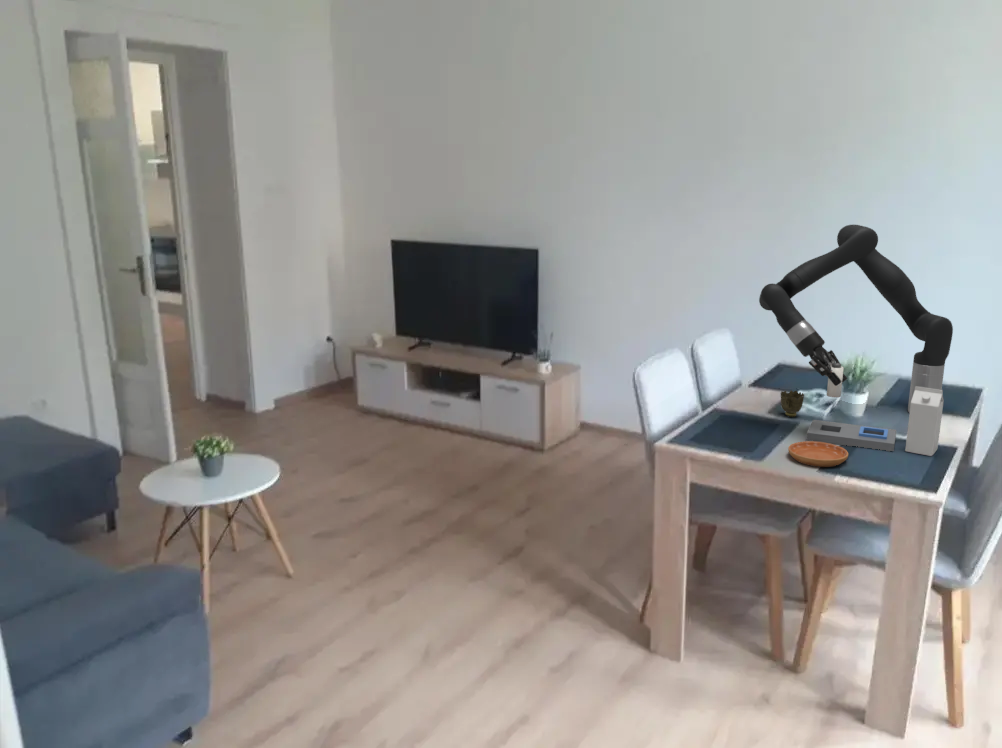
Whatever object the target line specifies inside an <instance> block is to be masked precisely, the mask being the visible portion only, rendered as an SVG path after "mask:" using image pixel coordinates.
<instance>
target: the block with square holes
mask: <svg viewBox="0 0 1002 748" xmlns="http://www.w3.org/2000/svg"><path fill="white" fill-rule="evenodd" d="M896 437H897V429H893V428H891V429H890V428H886V427H885V428H884V427H875V426H868V425H861V424H860V425H859V424H853V423H851V424H850V423H845V422H844V423H843V422H834V421H827V420H818V419H812V421H811V423H810V425H809V428H808V430H807V431H806V437H805V438H806V441H815V442H824V443H830V444H834V445H837V446H846V445H847V447H852V446H856V447H855V448H860V447H864V448H863V449H867V448H872V449H871V450H875V449H878V450H877V451H882V450H886V451H885V452H890V451H895V443H896V439H897V438H896ZM857 446H858V447H857ZM879 449H880V450H879Z"/></svg>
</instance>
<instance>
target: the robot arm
mask: <svg viewBox="0 0 1002 748" xmlns="http://www.w3.org/2000/svg"><path fill="white" fill-rule="evenodd" d="M836 236H837V237H836V241H837V242H836V243H837V245H838V246H837V247H836V248H834V249H832V250H831V251H829V252H827V253H824V254H822V255H819V256H817V257H814V258H812V259H809V260H807V261H805V262H803V263H801V264H800V265H798V266H797V267H795V268H794V269H792V270H790V271H789V272H787V273H786V275H784V276H783V278H782V279H781V280H779V281H778V282H776V283H768V284H765V285H764V287H763V288H762V289H761V292H760V294H759V298H758V301H759V305H760V307H761V308H763V309H764V310H765V311H771V312H772V313H773V315H774V316H775V319H776V322H777V324H778V326H779V327H780V328H781V329H782V330H783V332H784V333H785V334H786V335H787V337H788V338H789V340H790V341H791V343H792V344H793V345H794V346H795V348H796V349H797V350H798V351H799V353H800V354H801V355H802V356H803V357H804V358H806V357H810V359H811V360H809V361H808V364H809V365H810V367H812V369H814V370H815V371H816V372H818V374H819V375H820V376H822V377H824V376H825V377H827V379H828V378H829V379H830V380H831V381H832V383H833V384H834V385H835V386H837V385H838V384H840V383H841V380H840V379H839V377H838V376H837V375H836V374H835V373H834V372H833V370H832V368H831V367H830V366H832V363H840V364H841V362H840V361H839V359H838V357H837V356H836V354H835V353H834V351H833V350H832V349H830V350H828V351H827V349H825V348H824V347H823V346H824V345H825V343H826V342H825V339H823V338H822V336H821V335H820V334H819V332H817V330H816V328H814V327H813V325H812V324H811V323H810V322H809V321H808V320H806V318H805V317H804V316H803V315H802V314H801V313H800V311H799V310H798V309H797V308H796V307H795V305H794V303H793V301H792V300H791V299H792V298H793V297H795V296H796V295H797V294H800V293H801V292H802V291H804V290H805V289H808V288H809V287H810V286H811V285H813V284H815V283H816V282H817V281H819V280H820V279H822V278H824V277H826V276H827V275H829V274H831V273H833V272H835V271H836V270H838V269H840V268H843V267H844V266H846V265H848V264H850V263H853V262H854V263H855V264H856V265H857V266H858V267H859V268H860V270H861V271H862V272H863V274H864V275H865V276H866V277H867V279H868V280H869V281H870V282H871V284H872V285H873V286H874V287H875V288H876V290H877V291H878V293H879V294H880V295H881V296H882V297H883V299H885V300H886V301H887V303H889V305H890V306H892V308H893V309H894V310H895V311H896V312H897V313H898V315H900V317H901V318H902V320H903V321H904V323H905V324H906V326H907V327H908V329H909V331H910V332H911V333H912V335H913V336H914V337H915V338H916V339H917V340H920V341H922V342H924V345H923V349H922V351H918V352H916V353H914V355H913V363H912V371H911V377H910V385H909V386H910V388H909V398H908V405H907V412H908V413H909V414H910V406H911V400H912V397H913V394H914V391H915V386H917V387H924V388H931V389H938V390H943V388H942V387H943V382H944V374H945V373H944V372H945V366H946V361H947V358H948V357H949V354H950V351H951V350H950V349H951V346H952V345H951V344H952V341H953V332H954V326H953V323H952V321H951V320H950V318H947V317H946V316H945V317H944V316H942V315H938V314H934V313H931V312H930V311H929V310H927V309H926V308H925V307H924V306H923V305H922V303H921V302H920V301H919V300H918V297H917V292H916V288H915V285H914V283H913V282H912V280H911V279H910V278H909V277H908V275H907V274H906V273H905V272H904V271H903V270H902V269H901V268H900V266H898V265H897V264H895V263H894V262H893V261H891V260H890V259H888V258H887V257H885V255H883V254H882V253H880V252H879V251H878V250H877V249H876V248H877V246H878V244H879V243H878V242H879V236H878V233H877V232H876V231H875V230H874V229H873V228H870V227H868V226H863V225H860V224H848V225H845V226H843V227H842V228H841V229H840V230H839V231H838V233H837V235H836ZM847 379H848V378H847V375H845V373H844V372H843V379H842V383H844V382H845V381H847Z"/></svg>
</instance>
